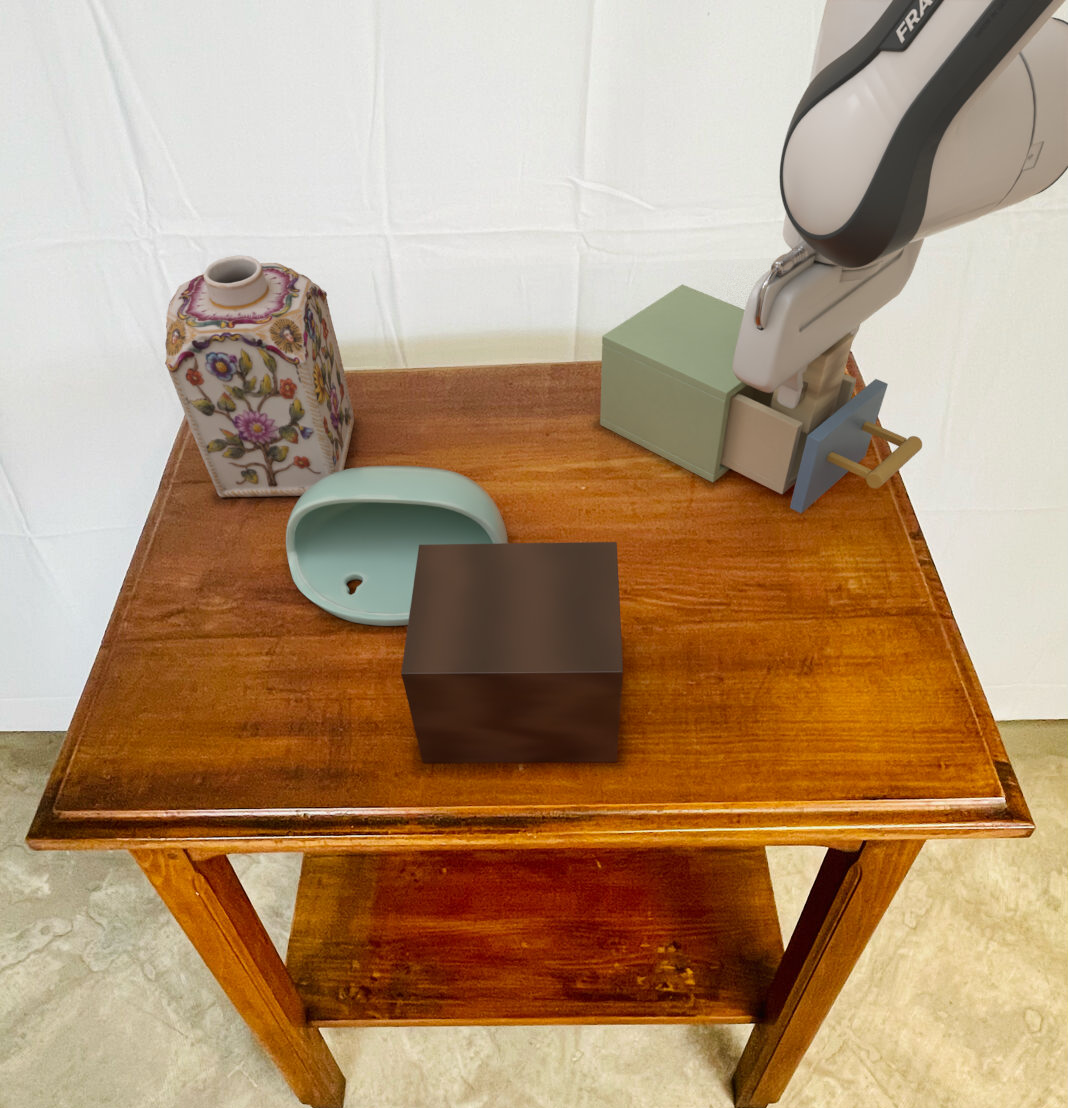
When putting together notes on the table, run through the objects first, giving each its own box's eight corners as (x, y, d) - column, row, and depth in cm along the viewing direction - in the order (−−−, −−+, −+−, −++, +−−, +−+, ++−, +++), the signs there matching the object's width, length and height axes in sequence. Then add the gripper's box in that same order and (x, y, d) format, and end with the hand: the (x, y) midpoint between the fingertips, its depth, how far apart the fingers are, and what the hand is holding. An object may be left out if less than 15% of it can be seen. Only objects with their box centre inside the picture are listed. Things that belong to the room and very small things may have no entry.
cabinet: (785, 424, 86) (805, 334, 79) (712, 483, 82) (726, 393, 74) (673, 372, 92) (682, 284, 85) (599, 425, 88) (602, 335, 80)
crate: (611, 638, 71) (616, 541, 63) (616, 762, 64) (623, 671, 56) (436, 640, 72) (418, 544, 64) (422, 763, 65) (400, 673, 57)
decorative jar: (358, 421, 89) (315, 231, 75) (342, 497, 82) (292, 305, 68) (239, 424, 90) (174, 235, 75) (214, 500, 83) (136, 309, 68)
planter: (513, 428, 76) (492, 562, 66) (517, 498, 82) (498, 630, 72) (294, 424, 77) (243, 554, 68) (314, 493, 83) (270, 622, 74)
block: (794, 395, 79) (811, 318, 74) (833, 412, 78) (854, 335, 72) (768, 416, 78) (783, 339, 72) (807, 434, 76) (826, 357, 70)
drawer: (917, 480, 80) (944, 407, 74) (853, 540, 75) (877, 468, 70) (751, 404, 87) (764, 332, 81) (685, 455, 83) (694, 383, 77)
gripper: (805, 284, 59) (768, 462, 70) (959, 175, 67) (904, 350, 78) (726, 254, 61) (702, 430, 73) (884, 153, 70) (841, 325, 81)
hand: (808, 388), depth 76 cm, fingers closed on block, 4 cm apart
